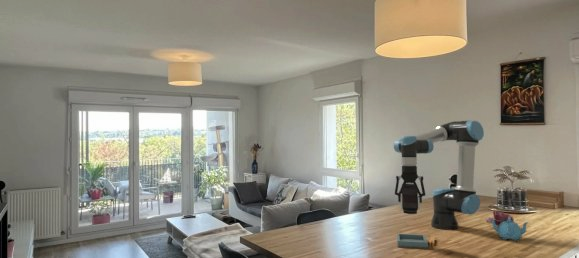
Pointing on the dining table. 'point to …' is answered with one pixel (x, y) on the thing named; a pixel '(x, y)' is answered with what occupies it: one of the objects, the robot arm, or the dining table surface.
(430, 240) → the fuse puller tool
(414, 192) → the camera lens
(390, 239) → the dining table surface
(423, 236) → the tray
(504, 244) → the dining table surface
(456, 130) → the robot arm
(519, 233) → the teapot
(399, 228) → the dining table surface
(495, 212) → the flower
